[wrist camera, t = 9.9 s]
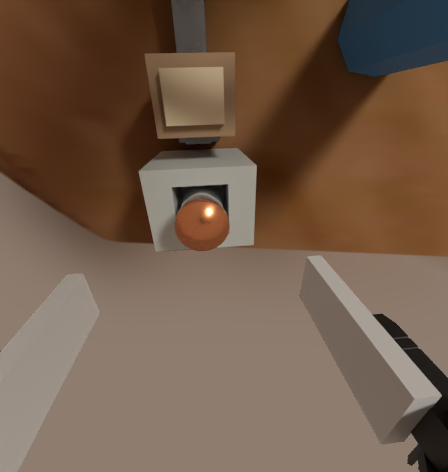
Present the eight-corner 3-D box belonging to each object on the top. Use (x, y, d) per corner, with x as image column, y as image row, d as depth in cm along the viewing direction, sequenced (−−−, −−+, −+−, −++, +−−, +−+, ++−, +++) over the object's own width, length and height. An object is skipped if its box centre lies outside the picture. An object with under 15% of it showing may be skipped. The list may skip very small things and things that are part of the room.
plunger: (178, 182, 22) (170, 203, 16) (222, 180, 22) (229, 200, 17) (183, 222, 24) (178, 252, 19) (223, 220, 24) (230, 248, 19)
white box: (158, 151, 29) (133, 171, 18) (237, 147, 29) (256, 165, 19) (167, 208, 33) (151, 252, 22) (237, 204, 33) (253, 244, 23)
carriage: (162, 73, 25) (142, 51, 16) (224, 72, 25) (235, 50, 17) (170, 132, 28) (156, 139, 19) (225, 130, 28) (236, 136, 20)
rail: (154, -74, 20) (147, -103, 17) (210, -73, 20) (211, -101, 18) (179, 142, 28) (177, 144, 26) (218, 140, 29) (219, 142, 26)
